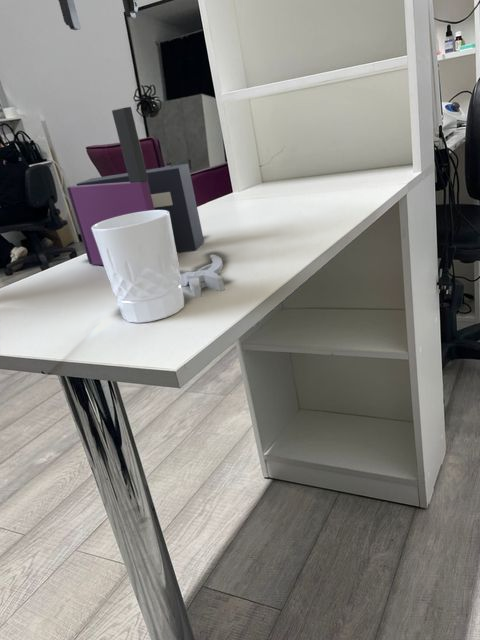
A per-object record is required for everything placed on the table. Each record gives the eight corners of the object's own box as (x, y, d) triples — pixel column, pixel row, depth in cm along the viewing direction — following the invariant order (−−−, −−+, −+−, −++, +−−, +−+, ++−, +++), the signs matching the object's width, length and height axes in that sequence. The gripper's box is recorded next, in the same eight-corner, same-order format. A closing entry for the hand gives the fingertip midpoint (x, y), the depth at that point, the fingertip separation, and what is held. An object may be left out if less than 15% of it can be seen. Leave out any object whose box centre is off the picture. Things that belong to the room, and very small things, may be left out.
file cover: (87, 264, 84) (45, 124, 75) (94, 261, 85) (53, 122, 76) (163, 269, 73) (123, 107, 65) (169, 267, 74) (131, 106, 66)
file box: (99, 262, 85) (76, 183, 80) (111, 253, 89) (90, 178, 84) (196, 250, 81) (178, 167, 76) (204, 241, 86) (188, 163, 81)
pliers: (213, 247, 75) (249, 270, 62) (215, 258, 75) (251, 283, 62) (143, 265, 72) (165, 292, 59) (146, 276, 73) (168, 306, 60)
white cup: (202, 307, 57) (181, 212, 53) (132, 332, 54) (104, 232, 50) (173, 293, 63) (152, 207, 59) (108, 314, 60) (82, 225, 56)
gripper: (3, -118, 67) (44, 31, 74) (108, -147, 65) (141, 10, 71) (34, -99, 74) (69, 35, 81) (130, -125, 71) (159, 16, 78)
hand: (103, 23), depth 76 cm, fingers open, 8 cm apart
